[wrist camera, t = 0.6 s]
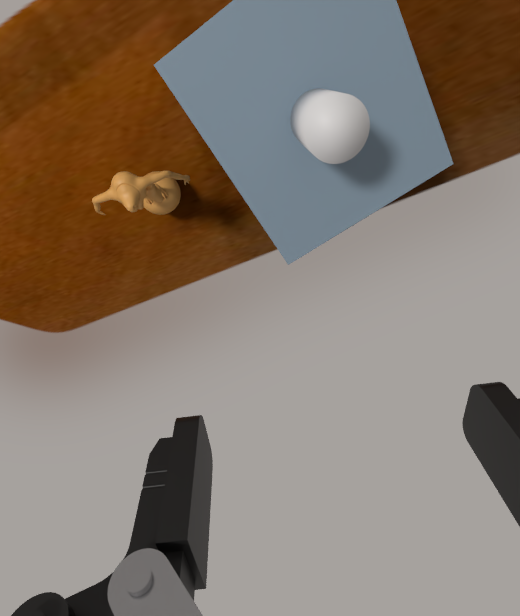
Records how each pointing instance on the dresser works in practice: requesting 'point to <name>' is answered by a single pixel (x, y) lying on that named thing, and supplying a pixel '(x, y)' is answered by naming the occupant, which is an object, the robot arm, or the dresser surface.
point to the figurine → (144, 191)
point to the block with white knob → (310, 111)
